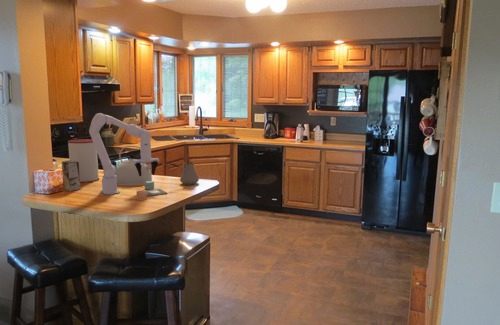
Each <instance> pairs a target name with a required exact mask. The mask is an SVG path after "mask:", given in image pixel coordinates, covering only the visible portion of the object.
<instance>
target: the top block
mask: <svg viewBox="0 0 500 325" xmlns="http://www.w3.org/2000/svg"><path fill="white" fill-rule="evenodd" d="M146 191H147V190H137V191H136V192H135V193H136V199H137V200H138V201H143V200H147V199H148V196H147V192H146Z"/></svg>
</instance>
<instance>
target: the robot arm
mask: <svg viewBox="0 0 500 325" xmlns="http://www.w3.org/2000/svg"><path fill="white" fill-rule="evenodd" d="M105 124H106V125H113V126H115V127H118V128H121V129H123V130H125V131H126V133H127V134H128V135H130V136H132V137H136V138H137V139H138V138H140V144H139V145H140V146H139V147H140V148H139V149H140V159H136V160H133V164H135V166H136V168H137V170H138V173H139V176H141V166H142V165H141V164H140V163H145V164H148V163H150V164H151V166H152V168H151V175H153V176H155V172H156V170H157V167H158V164H159V162H160V158H158V157H152V147H151V146H152V145H151V139H152V135H151V134H152V133H150V131H148V130H147V129H145V128H144V127H140V126H137V124H136V123H130V124H128V123H126V122H124V121H121V120H119V119H117V118H115V117H113V116H111V115H108V114H104V113H102V112H98V113H95V115H94V116H93V118H92V120H91V123H90V126H89V130H88V133H89V135H90V137H91V138H90V139H92V140H93V143H94V145H95V148H96V150H97V156H98V158H99V160H100V163H101V166H102V169H103V171H102V174H103V175H102V179H101V187H102V188H101V189H102V190H100V192H101V193H102V194H104V195H105V196H106V195H113V194H114V195H115V194H119V193H120V191H118V184H117V177H116V175H115V172H116V167H115V166H114V165H113V163H112V162H111V159H110V157H109V155H108V152H107V149H106V147H105V145H104V142H103V140H102V137H101V135H100V131H101V129H102V127H103V126H104V125H105Z"/></svg>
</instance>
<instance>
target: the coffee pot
mask: <svg viewBox="0 0 500 325" xmlns="http://www.w3.org/2000/svg"><path fill="white" fill-rule="evenodd" d="M168 165H170V166H173V167H177V168H179V169H182V170H183V171H182V173H181V175H180V178H179V181H180V182H181V183H182V184H183V185H184V186H194V185H196V184H197V183H198V182H199V180H200V178H199V175H198V173H197V171H196V169H195V167H194V165H195V162H190V161H187V162H186V161H185V162H184V163H183V165H184V166H180V165H178V164H176V163H172V162H169V161H168V162H167V163H166V164H165V166H167V167H168Z"/></svg>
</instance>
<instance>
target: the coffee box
mask: <svg viewBox="0 0 500 325" xmlns="http://www.w3.org/2000/svg"><path fill="white" fill-rule="evenodd" d="M61 170H62V185H64V186H63V189H64V190H66V191H69V192H73V191H77V190H78V191H79V190H81V183H80V177H79V162H77V161H73V160H69V159H68V160H63V161H61ZM72 190H73V191H72Z"/></svg>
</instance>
